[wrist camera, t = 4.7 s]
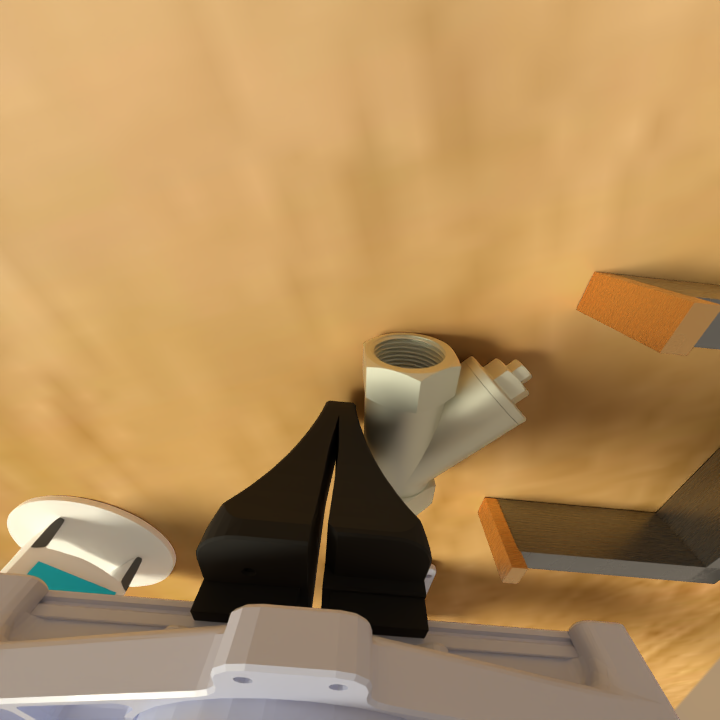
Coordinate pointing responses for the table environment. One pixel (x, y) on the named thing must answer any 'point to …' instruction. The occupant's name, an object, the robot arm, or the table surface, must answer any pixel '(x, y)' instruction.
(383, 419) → the pipe fitting
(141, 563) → the panda figurine
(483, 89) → the table surface
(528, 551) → the grey u-shaped frame
